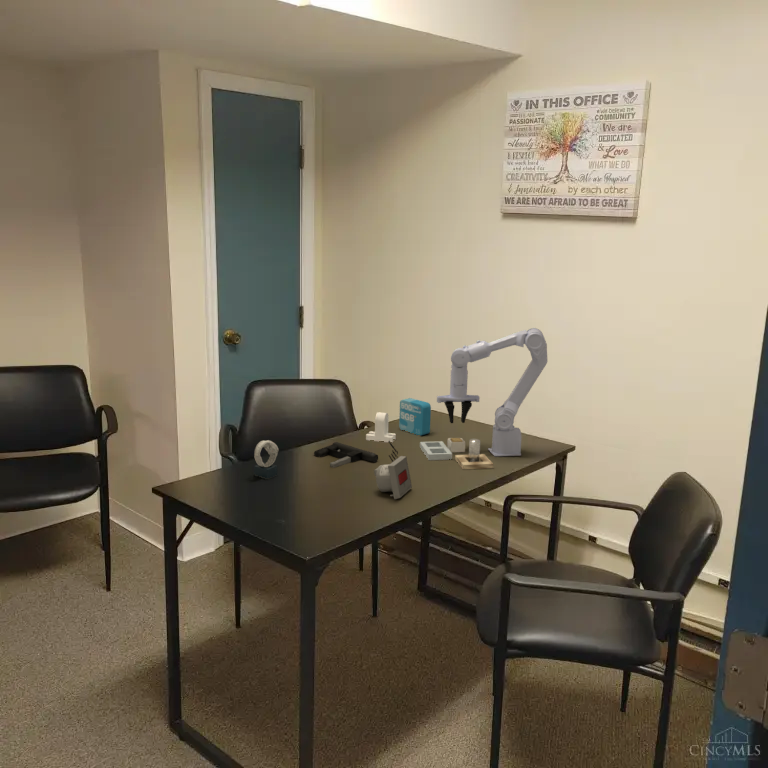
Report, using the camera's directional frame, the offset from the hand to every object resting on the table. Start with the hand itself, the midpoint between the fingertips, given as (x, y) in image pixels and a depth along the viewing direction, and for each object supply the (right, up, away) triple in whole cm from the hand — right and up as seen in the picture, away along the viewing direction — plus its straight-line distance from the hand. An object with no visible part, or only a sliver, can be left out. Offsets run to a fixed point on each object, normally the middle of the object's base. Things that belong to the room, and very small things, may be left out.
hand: (457, 422), depth 245 cm
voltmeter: (-22, -17, -31) cm, 42 cm away
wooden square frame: (+4, -13, -12) cm, 18 cm away
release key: (0, -9, +2) cm, 9 cm away
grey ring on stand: (-61, -15, -27) cm, 68 cm away
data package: (-14, -5, +23) cm, 27 cm away
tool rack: (-8, -10, -2) cm, 13 cm away
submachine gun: (-39, -12, -10) cm, 42 cm away
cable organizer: (-26, -7, +13) cm, 30 cm away
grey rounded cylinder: (+4, -13, -12) cm, 18 cm away
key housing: (0, -10, +2) cm, 10 cm away
